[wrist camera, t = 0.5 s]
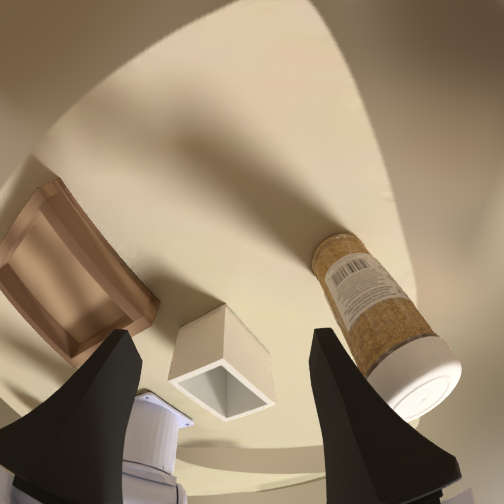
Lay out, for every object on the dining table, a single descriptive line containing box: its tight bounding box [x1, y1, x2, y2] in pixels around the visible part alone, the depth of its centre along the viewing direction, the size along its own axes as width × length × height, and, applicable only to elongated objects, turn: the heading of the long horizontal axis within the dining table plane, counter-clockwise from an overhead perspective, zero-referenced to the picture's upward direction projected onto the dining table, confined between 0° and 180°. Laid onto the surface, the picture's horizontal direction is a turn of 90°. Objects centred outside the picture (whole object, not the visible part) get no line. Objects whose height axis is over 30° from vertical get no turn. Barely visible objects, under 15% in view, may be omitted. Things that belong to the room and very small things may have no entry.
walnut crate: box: [0, 178, 160, 368], centre depth 20 cm, size 12×13×3 cm
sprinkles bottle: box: [312, 234, 461, 422], centre depth 15 cm, size 5×5×13 cm
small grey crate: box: [168, 303, 276, 422], centre depth 22 cm, size 5×7×6 cm
